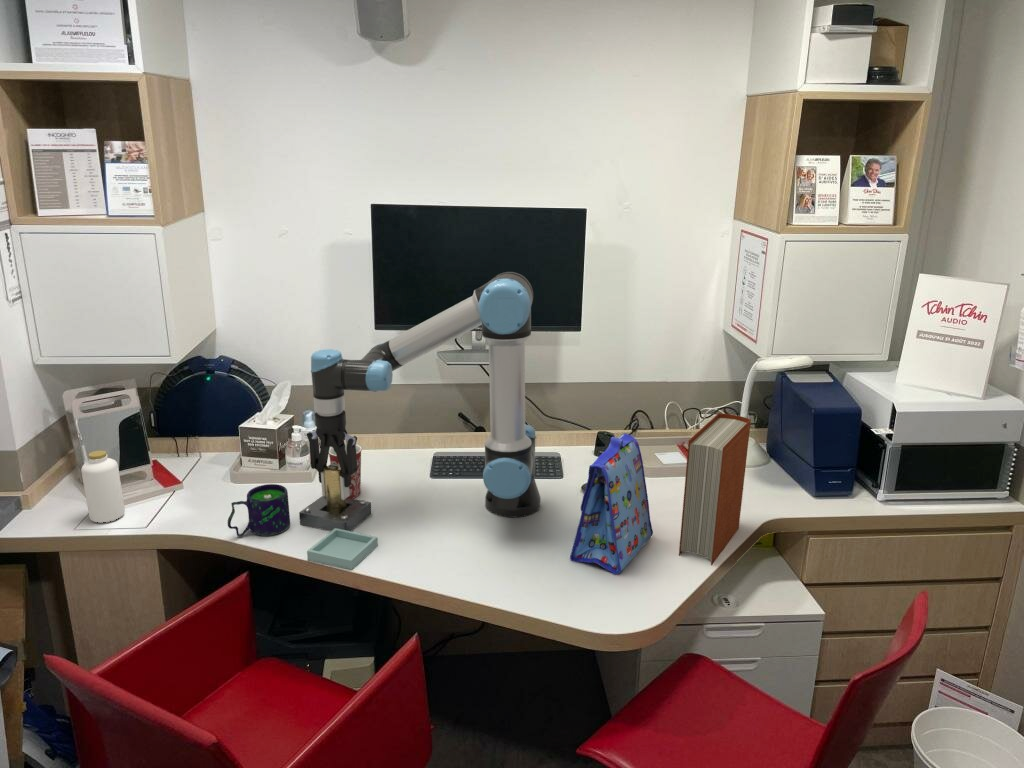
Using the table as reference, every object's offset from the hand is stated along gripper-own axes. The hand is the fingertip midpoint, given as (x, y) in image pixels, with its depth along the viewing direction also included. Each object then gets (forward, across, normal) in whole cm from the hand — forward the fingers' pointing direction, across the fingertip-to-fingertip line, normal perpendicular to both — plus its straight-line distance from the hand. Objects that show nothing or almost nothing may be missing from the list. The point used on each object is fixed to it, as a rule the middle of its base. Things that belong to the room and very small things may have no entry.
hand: (336, 495), depth 200 cm
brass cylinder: (+4, 0, 0) cm, 4 cm away
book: (+8, -93, -24) cm, 96 cm away
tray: (+7, -11, +14) cm, 19 cm away
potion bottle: (+7, +56, +21) cm, 60 cm away
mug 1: (+7, +15, +12) cm, 21 cm away
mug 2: (+7, +6, -16) cm, 18 cm away
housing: (+7, 0, 0) cm, 7 cm away
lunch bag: (+8, -71, -12) cm, 72 cm away
